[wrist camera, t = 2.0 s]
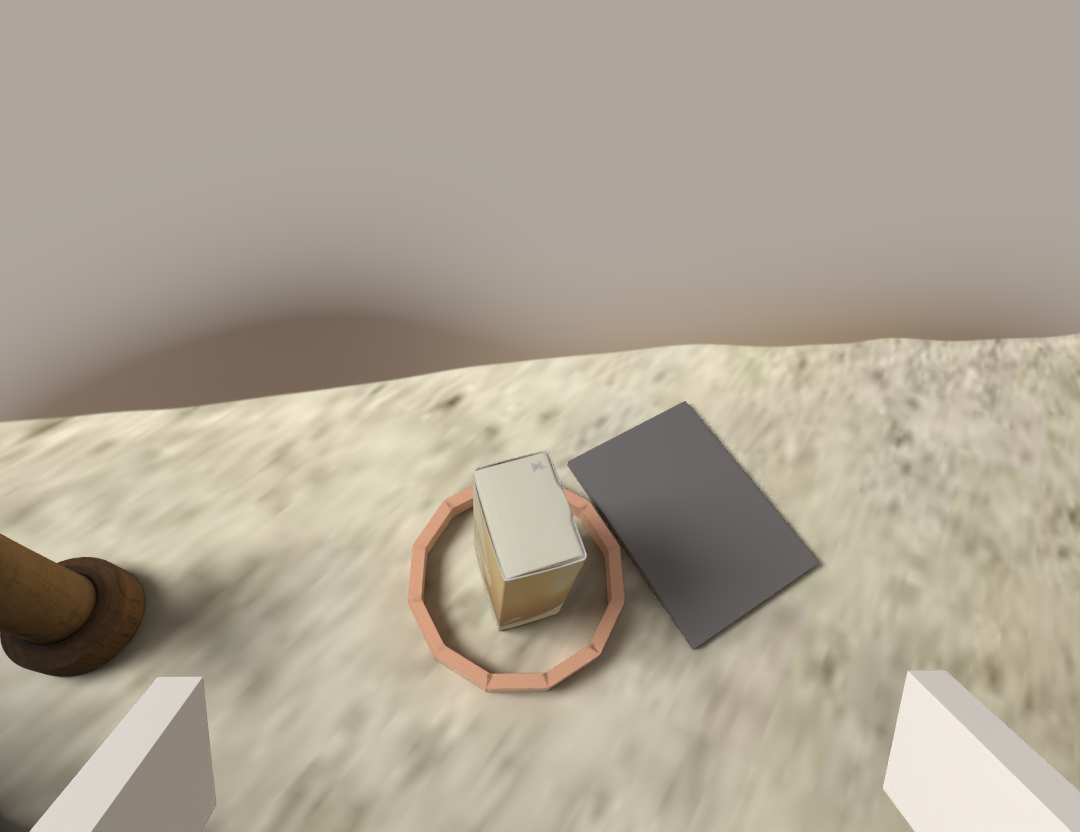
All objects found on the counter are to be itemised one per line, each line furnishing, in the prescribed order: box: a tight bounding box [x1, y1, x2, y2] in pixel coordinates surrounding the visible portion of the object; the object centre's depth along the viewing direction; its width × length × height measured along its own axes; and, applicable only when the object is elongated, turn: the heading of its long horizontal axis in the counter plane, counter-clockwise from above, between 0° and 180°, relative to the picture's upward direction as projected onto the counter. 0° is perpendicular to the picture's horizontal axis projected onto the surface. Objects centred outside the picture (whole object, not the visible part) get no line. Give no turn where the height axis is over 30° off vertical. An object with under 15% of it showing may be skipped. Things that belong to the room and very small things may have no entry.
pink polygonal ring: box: [408, 486, 625, 692], centre depth 39 cm, size 14×14×2 cm
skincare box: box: [472, 450, 587, 631], centre depth 35 cm, size 6×4×12 cm
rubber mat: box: [568, 401, 819, 649], centre depth 43 cm, size 11×15×1 cm
